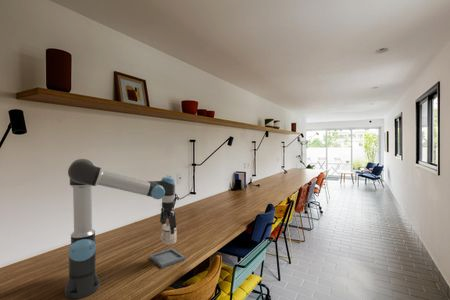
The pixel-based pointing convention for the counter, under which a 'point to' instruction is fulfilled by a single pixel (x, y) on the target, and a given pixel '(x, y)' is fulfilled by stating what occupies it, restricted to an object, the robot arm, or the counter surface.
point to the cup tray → (167, 258)
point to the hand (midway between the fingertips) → (167, 236)
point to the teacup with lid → (166, 235)
